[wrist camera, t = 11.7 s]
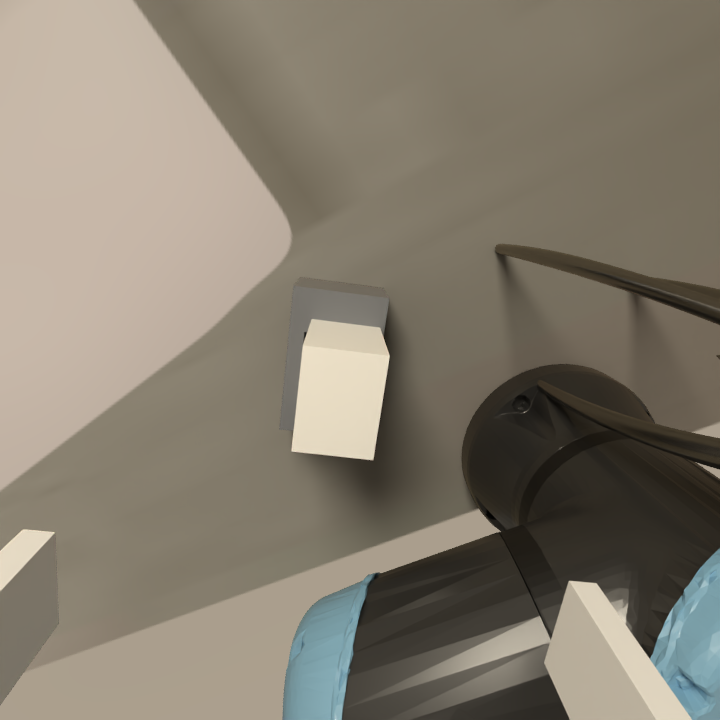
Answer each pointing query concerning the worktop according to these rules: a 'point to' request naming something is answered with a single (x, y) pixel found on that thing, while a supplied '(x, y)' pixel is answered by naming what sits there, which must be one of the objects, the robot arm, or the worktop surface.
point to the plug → (340, 390)
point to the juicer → (676, 294)
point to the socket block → (325, 305)
